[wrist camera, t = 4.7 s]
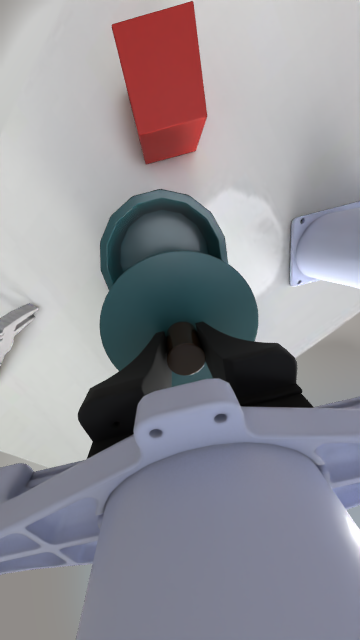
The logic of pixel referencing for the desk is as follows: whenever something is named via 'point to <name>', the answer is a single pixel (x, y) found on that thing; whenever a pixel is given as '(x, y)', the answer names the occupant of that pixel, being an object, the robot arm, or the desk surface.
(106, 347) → the lid
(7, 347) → the caliper
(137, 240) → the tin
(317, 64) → the desk surface
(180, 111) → the red block
